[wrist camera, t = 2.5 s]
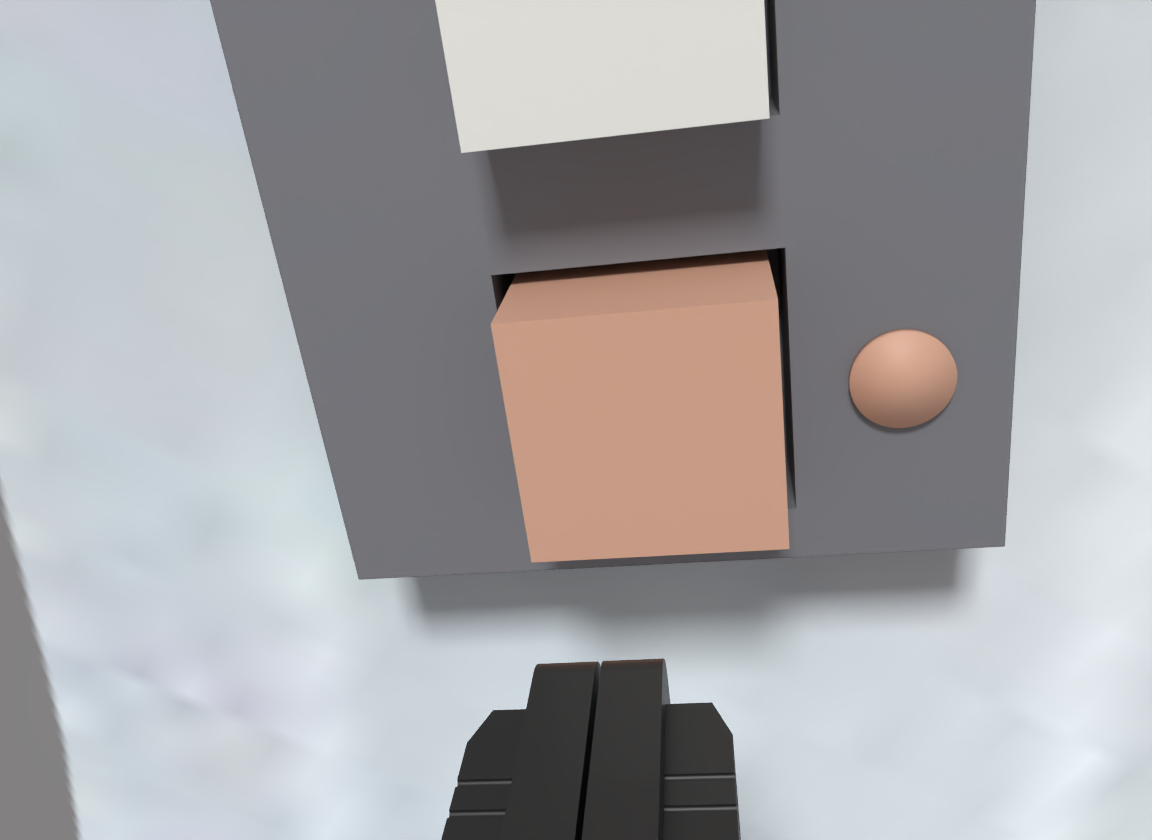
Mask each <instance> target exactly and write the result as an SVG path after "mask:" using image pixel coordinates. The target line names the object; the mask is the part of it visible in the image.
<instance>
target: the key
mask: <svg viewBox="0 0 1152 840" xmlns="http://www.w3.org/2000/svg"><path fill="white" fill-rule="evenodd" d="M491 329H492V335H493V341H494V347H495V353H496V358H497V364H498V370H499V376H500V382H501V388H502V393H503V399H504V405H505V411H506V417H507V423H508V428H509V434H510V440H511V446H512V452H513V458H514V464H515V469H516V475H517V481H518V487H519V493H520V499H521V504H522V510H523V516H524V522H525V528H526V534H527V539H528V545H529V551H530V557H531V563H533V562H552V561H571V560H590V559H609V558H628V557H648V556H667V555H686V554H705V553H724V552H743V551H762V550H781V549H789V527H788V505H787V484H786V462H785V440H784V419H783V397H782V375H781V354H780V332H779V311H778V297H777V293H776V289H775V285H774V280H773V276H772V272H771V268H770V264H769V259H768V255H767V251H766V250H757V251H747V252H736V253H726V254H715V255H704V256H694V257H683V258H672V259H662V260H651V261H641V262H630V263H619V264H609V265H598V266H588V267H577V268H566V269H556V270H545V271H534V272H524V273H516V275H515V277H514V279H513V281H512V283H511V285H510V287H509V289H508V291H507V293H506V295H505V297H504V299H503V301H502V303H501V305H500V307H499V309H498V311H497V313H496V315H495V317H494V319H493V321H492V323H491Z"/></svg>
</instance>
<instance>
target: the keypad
mask: <svg viewBox="0 0 1152 840" xmlns="http://www.w3.org/2000/svg"><path fill="white" fill-rule="evenodd" d="M210 2H211V6H212V10H213V14H214V18H215V22H216V25H217V29H218V33H219V37H220V41H221V45H222V49H223V53H224V57H225V60H226V64H227V68H228V72H229V76H230V80H231V84H232V88H233V92H234V95H235V99H236V103H237V107H238V111H239V115H240V119H241V123H242V127H243V130H244V134H245V138H246V142H247V146H248V150H249V154H250V158H251V162H252V166H253V169H254V173H255V177H256V181H257V185H258V189H259V193H260V197H261V201H262V204H263V208H264V212H265V216H266V220H267V224H268V228H269V232H270V236H271V239H272V243H273V247H274V251H275V255H276V259H277V263H278V267H279V271H280V274H281V278H282V282H283V286H284V290H285V294H286V298H287V302H288V306H289V310H290V313H291V317H292V321H293V325H294V329H295V333H296V337H297V341H298V345H299V348H300V352H301V356H302V360H303V364H304V368H305V372H306V376H307V380H308V383H309V387H310V391H311V395H312V399H313V403H314V407H315V411H316V415H317V418H318V422H319V426H320V430H321V434H322V438H323V442H324V446H325V450H326V453H327V457H328V461H329V465H330V469H331V473H332V477H333V481H334V485H335V489H336V492H337V496H338V500H339V504H340V508H341V512H342V516H343V520H344V524H345V527H346V531H347V535H348V539H349V543H350V547H351V551H352V555H353V559H354V562H355V566H356V570H357V574H358V578H359V579H379V578H398V577H418V576H437V575H457V574H476V573H496V572H516V571H535V570H555V569H574V568H594V567H613V566H633V565H652V564H672V563H691V562H711V561H730V560H750V559H769V558H789V557H808V556H828V555H847V554H867V553H886V552H906V551H925V550H945V549H964V548H984V547H1003V546H1005V533H1006V515H1007V498H1008V480H1009V463H1010V445H1011V428H1012V410H1013V393H1014V375H1015V358H1016V340H1017V323H1018V305H1019V288H1020V270H1021V253H1022V235H1023V218H1024V200H1025V183H1026V165H1027V148H1028V130H1029V113H1030V95H1031V77H1032V60H1033V42H1034V25H1035V7H1036V0H764V8H765V29H766V51H767V73H768V94H769V116H770V118H769V119H760V120H751V121H742V122H733V123H724V124H715V125H706V126H698V127H689V128H680V129H671V130H662V131H653V132H644V133H635V134H626V135H617V136H609V137H600V138H591V139H582V140H573V141H564V142H555V143H546V144H537V145H529V146H520V147H511V148H502V149H493V150H484V151H475V152H466V153H461V148H460V143H459V137H458V131H457V125H456V119H455V113H454V108H453V102H452V96H451V90H450V84H449V78H448V73H447V67H446V61H445V55H444V49H443V43H442V38H441V32H440V26H439V20H438V14H437V8H436V3H435V0H210ZM757 250H766V251H767V255H768V259H769V264H770V268H771V272H772V276H773V280H774V285H775V289H776V293H777V297H778V311H779V332H780V354H781V375H782V397H783V419H784V440H785V462H786V484H787V505H788V527H789V549H781V550H762V551H743V552H724V553H705V554H686V555H667V556H648V557H628V558H609V559H590V560H571V561H552V562H533V563H531V557H530V551H529V545H528V539H527V534H526V528H525V522H524V516H523V510H522V504H521V499H520V493H519V487H518V481H517V475H516V469H515V464H514V458H513V452H512V446H511V440H510V434H509V428H508V423H507V417H506V411H505V405H504V399H503V393H502V388H501V382H500V376H499V370H498V364H497V358H496V353H495V347H494V341H493V335H492V329H491V323H492V321H493V319H494V317H495V315H496V313H497V311H498V309H499V307H500V305H501V303H502V301H503V299H504V297H505V295H506V293H507V291H508V289H509V287H510V285H511V283H512V281H513V279H514V277H515V275H516V273H524V272H534V271H545V270H556V269H566V268H577V267H588V266H598V265H609V264H619V263H630V262H641V261H651V260H662V259H672V258H683V257H694V256H704V255H715V254H726V253H736V252H747V251H757Z"/></svg>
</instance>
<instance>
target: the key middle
mask: <svg viewBox="0 0 1152 840" xmlns="http://www.w3.org/2000/svg"><path fill="white" fill-rule="evenodd" d="M435 3H436V8H437V14H438V20H439V26H440V32H441V38H442V43H443V49H444V55H445V61H446V67H447V73H448V78H449V84H450V90H451V96H452V102H453V108H454V113H455V119H456V125H457V131H458V137H459V143H460V148H461V153H466V152H475V151H484V150H493V149H502V148H511V147H520V146H529V145H537V144H546V143H555V142H564V141H573V140H582V139H591V138H600V137H609V136H617V135H626V134H635V133H644V132H653V131H662V130H671V129H680V128H689V127H698V126H706V125H715V124H724V123H733V122H742V121H751V120H760V119H769V118H770V116H769V94H768V73H767V51H766V29H765V8H764V0H435Z"/></svg>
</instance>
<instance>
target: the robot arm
mask: <svg viewBox="0 0 1152 840" xmlns="http://www.w3.org/2000/svg"><path fill="white" fill-rule="evenodd" d="M457 780H458V786H457V787H455V791H454V794H453V798H452V802H451V806H450V809H449V812H450V816H449V818H447V821H446V825H445V828H444V832H443V836H442V840H741V837H740V824H739V811H738V798H737V785H736V772H735V759H734V746H733V735H732V733H731V731H730V730H729V728H728V727H727V725H726V724H725V722H724V721H723V719H722V717H721V716H720V714H719V713H718V711H717V710H716V708H715V707H714V705H713V704H712V703H687V704H670V696H669V687H668V678H667V669H666V663H665V659H644V660H619V661H603V662H602V665H601V666H600V664H599V662H576V663H551V664H537V665H536V667H535V670H534V674H533V678H532V683H531V688H530V693H529V698H528V703H527V708H526V709H521V710H493V711H492V712H491V714H490V715H489V716H488V717H487V719H486V720H485V721H484V722H483V724H482V725H481V726H480V727H479V729H478V730H477V731H476V732H475V734H474V735H473V736H472V737H471V739H470V740H469V741H468V742H467V745H466V749H465V753H464V757H463V761H462V764H461V768H460V772H459V776H458V779H457Z"/></svg>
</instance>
